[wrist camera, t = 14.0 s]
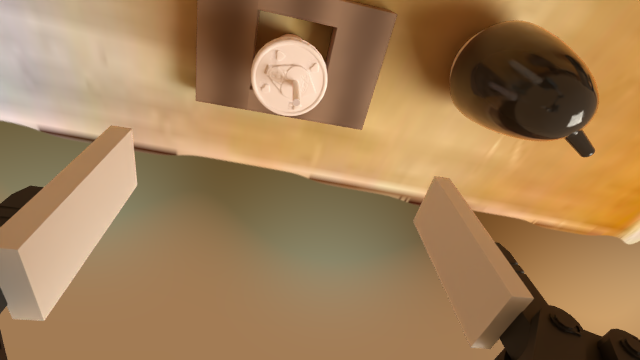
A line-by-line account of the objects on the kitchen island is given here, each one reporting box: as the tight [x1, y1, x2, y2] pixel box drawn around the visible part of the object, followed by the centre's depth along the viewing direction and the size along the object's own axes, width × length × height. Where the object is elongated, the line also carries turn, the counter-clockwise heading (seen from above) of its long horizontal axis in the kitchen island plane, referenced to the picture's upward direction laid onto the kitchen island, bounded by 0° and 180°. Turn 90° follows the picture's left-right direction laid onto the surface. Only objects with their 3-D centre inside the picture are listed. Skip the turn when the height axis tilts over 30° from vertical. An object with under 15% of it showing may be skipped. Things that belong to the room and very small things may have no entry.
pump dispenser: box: [450, 20, 599, 157], centre depth 31 cm, size 10×10×15 cm
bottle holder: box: [196, 0, 397, 130], centre depth 34 cm, size 18×12×3 cm, turn 78°
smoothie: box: [251, 34, 328, 116], centre depth 30 cm, size 6×6×14 cm
